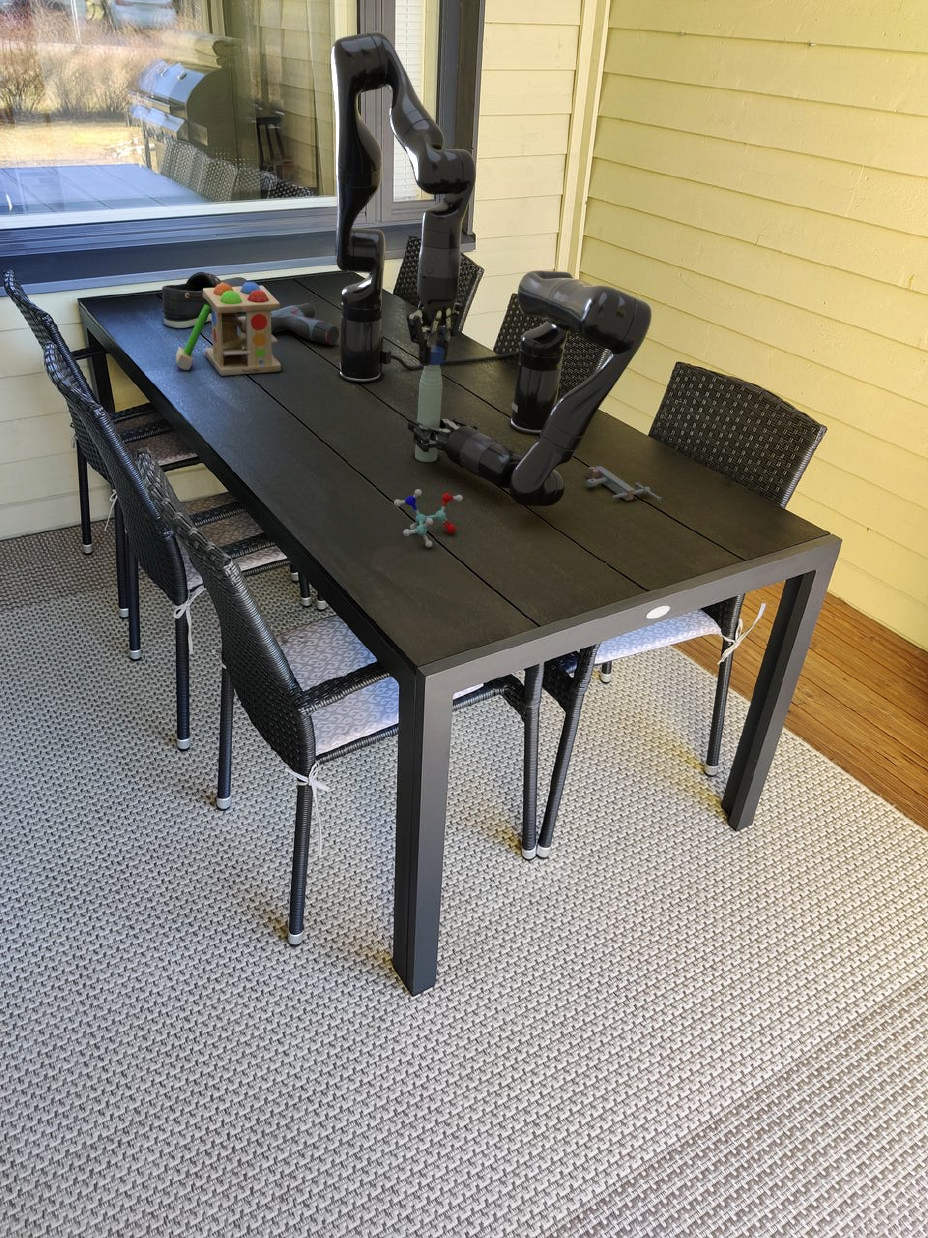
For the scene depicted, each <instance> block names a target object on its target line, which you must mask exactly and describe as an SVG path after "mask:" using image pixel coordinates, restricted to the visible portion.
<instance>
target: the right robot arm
mask: <svg viewBox="0 0 928 1238" xmlns="http://www.w3.org/2000/svg"><path fill="white" fill-rule="evenodd" d="M517 301H518V307H519V308H520V311H521V312H522V314H523V315H524V316H525V317H527V318H529V319H541V320H543V321H545V322H544V323H543V324H541V325H539V326H537V327H535V328H531V329H529V330H526V331H525V332H524V333H522V335H521V338H520V343H519V344H520V345H519V350H520V353H519V355H518V363H517V370H516V380H515V388H514V396H513V401H512V402H511V409H512V413H511V419H510V426H511V427H512V428H513V429H514V430H516V431H517V432H521V433H524V434H529V435H539V436H538V438H537V439H536V441H535V442H534V443H533V444H532V446H530V448H529V449H528V450H527V451H526V453H524V455H521V454H518V453H516V452H515V451H513V450H512V449H510V448H508V447H506V446H504V445H502V444H501V443H499V442H498V441H497V440H496V439H494V438H492V437H490V436H488V435H486V434H485V433H483V432H481V431H479V430H478V429H479V427H478V425H476V424H474V423H471V422H467V421H464V420H462V419H459V418H457V417H456V418H455V417H453V418H451V419H450V420H449V419H448V418H442V417H440V427H439V428H438V427H435V426H432V427H427V426H424V425H423V424H421V423H419V422H417V420H416V419H414V418H409V419H408V420H407V430H408V431H410V432H411V433H412V434H413V438H412V442H413V443H414V444H415V446H416V445H417V446H418V447H419V448H420V449H421V450H422V451H423V452H429V448H434V447H436V449H438V451H442V452H444V453H445V455H446V457H447V459H448V460H449V461H450V462H452V463H453V464H455V465H457V466H458V467H459V468H461V469H464V470H466V471H467V472H469V473H470V474H472V475H474V476H477V477H479V478H482V479H484V480H485V481H488V482H489V483H490V484H492V485H495V486H497V487H498V488H502V489H506V490H507V489H508V490H509V495H510V497H511V499H512V501H514V502H515V503H516V504H518V505H520V506H523V507H550V506H553V505H555V504H557V503H558V502H559V501H561V500H562V498H563V496H564V494H565V490H566V489H565V487H566V486H565V481H564V478H563V476H562V475H561V474H560V472H559V471H558V470H556V468H557V467H558V466H560V465H563V464H567V463H569V462H570V461H571V460H572V459H573V457H574V456H575V454H576V452H577V450H578V448H579V447H580V444H581V442H582V440H583V438H584V436H585V434H586V432H587V430H588V428H589V426H590V424H591V422H592V420H593V419H594V417H595V415H596V413H597V412H598V410H599V409H600V407H601V405H602V404H603V402H604V401H605V400H606V398H608V396H609V394H610V392H611V391H612V390H613V388H614V387H615V385H616V384H617V382H618V381H619V380H620V378H621V377H622V375H623V373H624V372H625V370H626V369H627V368H628V366H629V364H630V363H631V361H632V360H633V358H635V355H636V354H637V352H638V351H639V349H640V347H641V346H642V344H643V343H644V340H645V339H646V336H647V334H648V332H649V329H650V326H651V323H652V318H653V317H652V316H653V315H652V314H653V313H652V307H651V306H650V304H649V303H648V302H646V301H645V300H643V299H641V298H638V297H635V296H633V295H631V294H628V293H626V292H624V291H621V290H619V289H617V288H614V287H613V286H612V287H611V286H608V285H599V284H598V285H593V284H592V283H590V282H588V281H585V280H583V279H579V278H574V277H573V275H572V273H570V272H568V271H560V270H559V271H557V270H530V271H528V272H526V273H525V274H524V275H523V276H522V278H521V280H520V282H519V284H518V287H517ZM568 333H571V334H577V335H578V336H579V337H580V338H582V339H583V340H585V341H586V342H588V343H591V344H593V345H595V346H599V347H601V348H603V349H605V350H608V351H609V353H608V355H607V356H606V358H605V359H604V361H603V362H602V363H601V365H600V366H599V367H598V368H597V369H596V370H595V371H594V372H592V374H591V375H589V377H587V378H586V379H585V380H583V381H582V382H580V383H579V384H578V385H576V386H575V387H573V388H572V389H570V390H569V391H568V392H562V385H561V384H560V381H561V372H562V366H563V359H564V352H565V346H566V342H567V339H568V338H567V337H568ZM425 431H426V432H428V436H426V435H425ZM434 432H435V434H434Z"/></svg>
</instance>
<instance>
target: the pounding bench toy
mask: <svg viewBox="0 0 928 1238" xmlns="http://www.w3.org/2000/svg"><path fill="white" fill-rule="evenodd" d="M203 296H204V297H205V299H206V300H207V301H208V302H209V304H210V305H211V307H210V306H208V305H204V307H203V309H202V311H201V314H200V316H199V318H198V320H197V322H196V324H195V325H194V326H193V329H192V331H191V332H190V333H191V334H190V336H189V338H188V340H187V343H186V344H185V347H184V348H182V347H180V346H179V347H178V349H177V351H176V354H175V357H174V358H175V362H176V365H177V366H178V368H179V369H182V370H185V371H189V370H190V369H191V367H192V365H193V363H194V356H193V351H194V348H195V347H196V345H197V342H198V340H199V337H200V336H201V333H202V332H203V329H204V326H205V325H206V323H207V322H206V320H207V318H209V320H210V321H209V322H211V336H212V337H211V338H212V339H211V340H212V348H205V349H204V352H205V353H204V355H205V357H206V359H208V361H209V363H210V364H211V365H212V366H213V367H214V369H215V370H216V371H217V372H218V374H219V375H220V376H222V377H223V376H234V375H235V376H236V375H246V374H247V375H250V374H262V373H275V372H281V370H282V364H281V363H280V362H279V360H278V359H277V358H276V357H275V356H274V355H273V348H272V347H273V345H272V344H276V343H278V342H279V341H278V339H277V338H276V337H275V336H274V334H273V333H272V334H271V312H272V311H275V310H280V309H281V304H280V301H278V300H277V299H276V297H274V296H273V295H272V294H271V293H270V292H269V290H268V289H267V288H266V287H264V285H259V284H257V283H256V282H255V281H248V282H247V283H245V284H244V285H243V286H242V287H231V286H230V285H228V284H226V283H221V284H218V285H217V286H216V287H215V288H204V289H203ZM210 310H211V314H209V312H210ZM238 313H244V314H245V315H244V316H238ZM238 329H239V331H240V333H239V334H238Z"/></svg>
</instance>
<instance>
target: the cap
mask: <svg viewBox="0 0 928 1238" xmlns="http://www.w3.org/2000/svg"><path fill="white" fill-rule="evenodd" d="M443 362H444V348H442V347H440V346H436V344H435V345H434V344H431V359H430V365H440V366H441V365H443V364H442V363H443Z"/></svg>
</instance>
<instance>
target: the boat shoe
mask: <svg viewBox="0 0 928 1238" xmlns="http://www.w3.org/2000/svg"><path fill="white" fill-rule="evenodd" d="M247 282H249V281H248V279H247V278H244V277H240V276H238V277H237V276H236V277H229V278H226V279H221V278H219V277H217V276H216V275H215V274H213V273H209V272H204V271H198V272H195V273H193V274H192V275H191V276H189V278H187V280H186V282H185V283H180V284H167V285H163V286H162V287H161V292H162V308H161V309H160V310H161V312H162V313H163V314H164V315H163V322H164V325H166V326H168V327H171V328H177V329H182V328H185V329H186V328H190V327H195V324H196V322H197V320H198V318H199V316H200V314H201V311H202V309H203V307H204V305H208V306H210V307H211V305H210V304H209V302H208V301H207V300H206V299H205V297H204V296H203V289H204V288H215V287H216V286H217V285H218V284H221V283H226V284H228V285H230V286H231V287H242V286H243V285H244V284H245V283H247ZM209 314H211V310H210V312H209ZM208 322H211V321H210V320H209V318H207V320H206V322H205V323H208Z"/></svg>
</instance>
